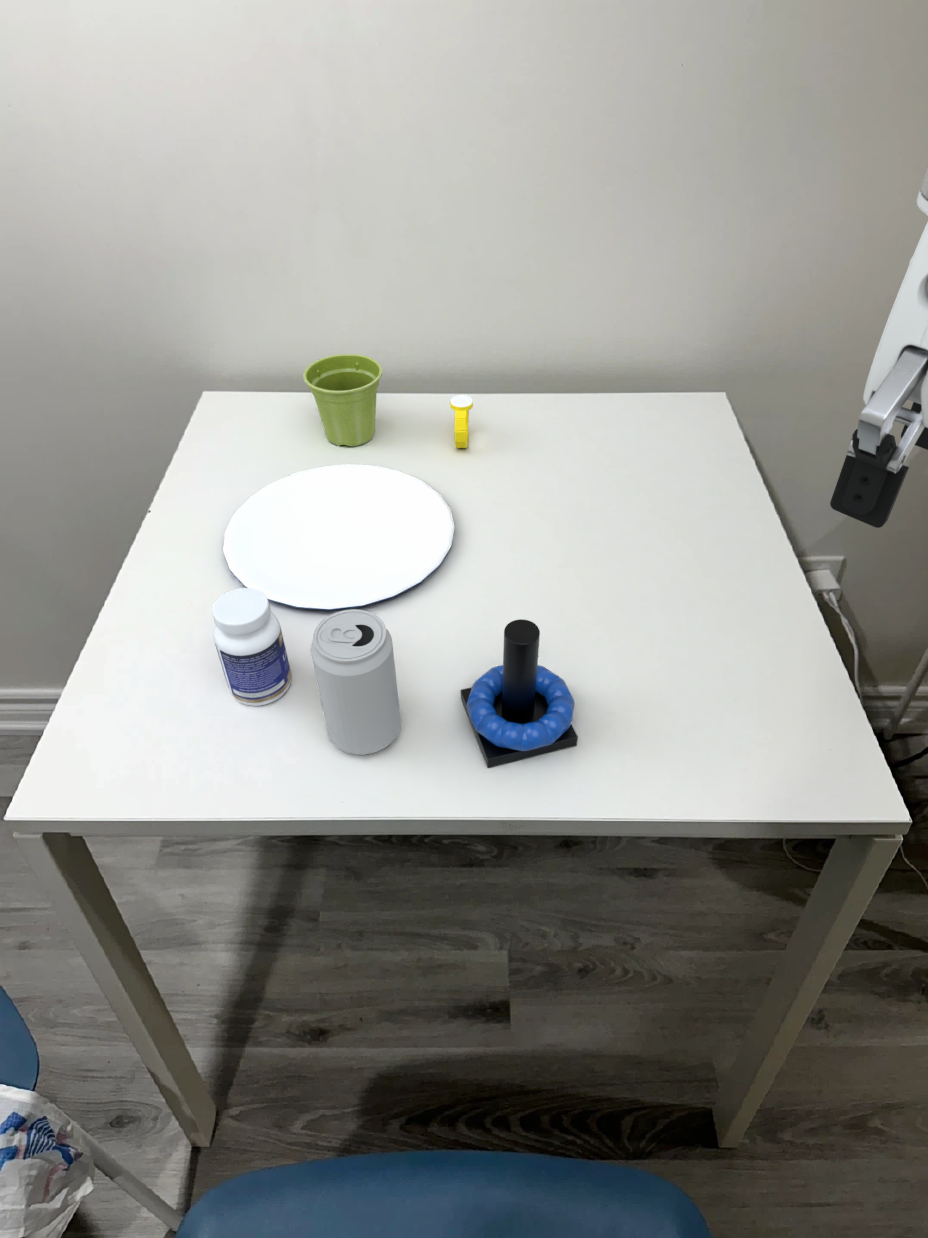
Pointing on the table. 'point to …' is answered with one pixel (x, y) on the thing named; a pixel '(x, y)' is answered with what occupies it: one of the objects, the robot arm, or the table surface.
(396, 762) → the table surface
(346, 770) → the table surface
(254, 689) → the pill bottle
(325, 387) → the plant pot
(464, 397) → the watch
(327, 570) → the plate
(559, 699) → the ring
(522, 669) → the peg stand
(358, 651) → the beverage can
